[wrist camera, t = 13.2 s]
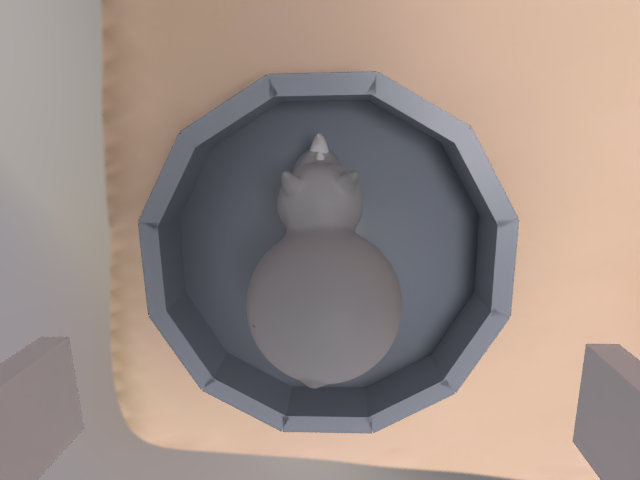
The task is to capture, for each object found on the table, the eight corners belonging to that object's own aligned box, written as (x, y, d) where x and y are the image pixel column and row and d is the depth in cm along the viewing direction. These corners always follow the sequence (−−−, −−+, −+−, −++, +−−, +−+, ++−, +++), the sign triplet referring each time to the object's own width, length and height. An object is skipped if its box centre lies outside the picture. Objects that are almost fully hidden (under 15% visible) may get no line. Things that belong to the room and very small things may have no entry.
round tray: (153, 86, 24) (121, 77, 21) (503, 78, 23) (532, 67, 20) (183, 394, 28) (160, 429, 25) (480, 397, 28) (500, 435, 24)
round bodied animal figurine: (385, 166, 27) (408, 99, 18) (390, 370, 25) (418, 401, 16) (267, 167, 27) (236, 101, 18) (262, 370, 25) (226, 399, 16)
